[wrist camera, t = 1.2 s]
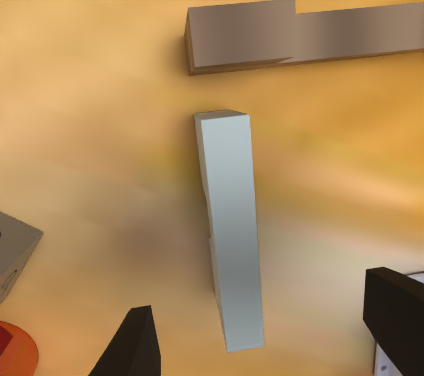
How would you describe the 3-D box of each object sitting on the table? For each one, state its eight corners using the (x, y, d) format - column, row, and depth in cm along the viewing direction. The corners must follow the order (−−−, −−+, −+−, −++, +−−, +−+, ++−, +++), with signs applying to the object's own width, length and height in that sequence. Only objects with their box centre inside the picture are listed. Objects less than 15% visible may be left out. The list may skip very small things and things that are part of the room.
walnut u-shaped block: (466, 8, 17) (581, -26, 12) (461, 47, 17) (568, 28, 13) (184, 35, 16) (188, 7, 11) (189, 75, 16) (194, 67, 11)
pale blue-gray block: (243, 288, 21) (264, 346, 16) (215, 293, 20) (227, 352, 16) (228, 109, 17) (249, 114, 12) (193, 113, 17) (200, 120, 12)
